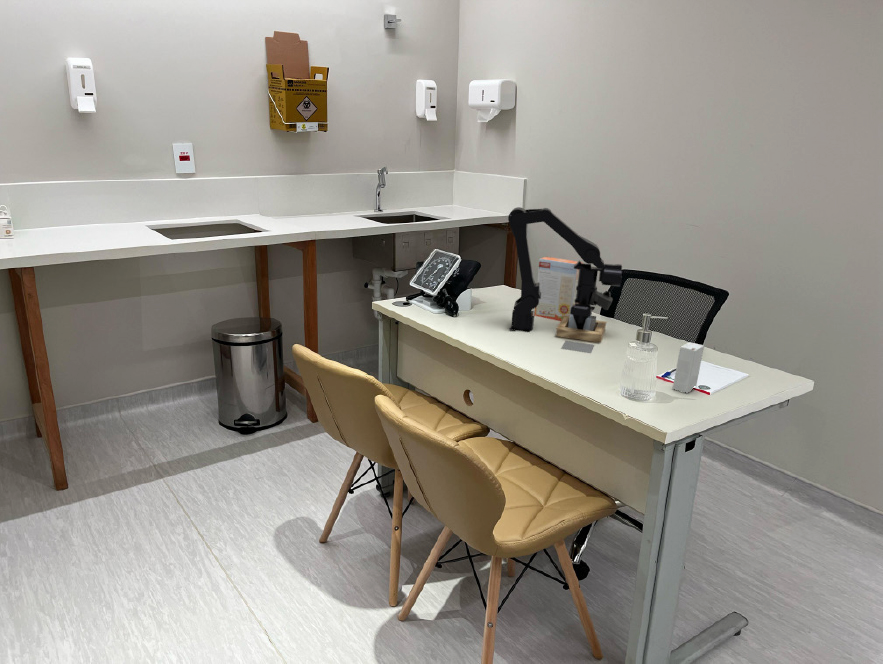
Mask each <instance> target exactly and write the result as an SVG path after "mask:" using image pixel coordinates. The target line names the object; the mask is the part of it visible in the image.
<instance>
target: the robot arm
mask: <svg viewBox="0 0 883 664" xmlns="http://www.w3.org/2000/svg"><path fill="white" fill-rule="evenodd" d="M507 218H508V219H507V220H508V223H509V228H510V231H511V232H512V235H513V236H514V237H513V238H514V240H515V246H516V252H517V259H518V265H519V272H520V273H519V274H520V279H521V288H520V290H521V291H520V297H519V298H518V299H516V300H515V301H514V305H513V310H512V311H511V312H512V313H511V326H510V327H509V330H510V331H515V332H516V331H518V332H524V333H530V332H531V331H532V330H533V329H534V324H535V316H534V310H535V308H536V307H537V305H538V304H539V299H541V292H540V283H537V282H535V279H534V274H533V267H532V262H531V261H532V260H531V254H530V248H529V239H528V225H529V224H537V223H544V224H545V225H547V226H548V227H549V228H550V229H552V231H554V232H555V233H556V234H557V235H559V236H560V237H561V238H562V239H563V240H565V242H567V243H568V244H569V245H570V246H571V247H572V248H573V249H574V250H575V252H576V253H577V254H578V256H579V258H580V259H582V261H581V260H577V261H578V263H576V264H575V265H574V269H579V277H578V285H577V287H576V290H577V294H576V299H575V304H574V305H573V306H572V307H571V311H570V314H572V315H573V317H574V320H575V323H576V326H577V329H581V330H583V328H584V325H585V322H586V319H587V318H588V317H590V316H593V314H592V313H593V311H594V310H595V309H596V307H595V306H599V307H601V308H602V309H603V310H605V311H608V310H609V308H610V306H611V305H612V303H613V300H614V299H613V297H611V291H608V290H605V291H604V292H602V291H601V292H600V291H598V287H597V280H598V282H600V283H601V285H602V286H609V287H610V286H611V287H612V286H613V287H621V284H622V280H623V277H622V273H623V272H622V271H623V270H622V269H623V265H622V264H621V263H620V264H619V263H617V264H613V263H611V264H610V263H605V262H604V259H603V258H602V257H601V251H600V248H599V246H598V244H596V243H595V242H593V241H591V240H589V239H587V238H585V237H583V236H582V235H579V233H577V232H576V231H575V230H573V228H571V227H570V226H569V225H568V224H567V223H565V222H564V221H563V220H562V219H561V218H559V216H557V215H556V214H555V213H554V212H553V211H552V210H551V209H550V208H548V207H543V208H532V209H531V208H530V209H529V208H528V209H526V208H523V207H519V206H518V207H514V208H512V210H511V211H510V212H509V214H508V217H507ZM581 262H583V263H581ZM592 265H593V266H592ZM598 272H599V273H598ZM597 278H598V279H597ZM578 303H579V304H578Z"/></svg>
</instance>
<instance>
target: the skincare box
mask: <svg viewBox="0 0 883 664" xmlns="http://www.w3.org/2000/svg"><path fill="white" fill-rule="evenodd" d="M704 348H705V345H703V344H698V343H694V342H687V343H685V344H683V345H682V346H680V347H679V352H678V358H677V363H676V368H675V373H674V380H673V385H672V390H674V389H675V390H674V391H676V390H679V391H682V392H681V393H683V392H686V393H685V394H689V393H690V392H692V391H693V390H694V389H693V387H694V386H696V387H697V385H698V379H699V375H700V371H701V369H700V368H701V363H702V359H703V358H702V357H703V353H704ZM692 389H693V390H692ZM691 390H692V391H691ZM679 391H678V392H679ZM688 392H689V393H688Z"/></svg>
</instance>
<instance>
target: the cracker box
mask: <svg viewBox="0 0 883 664" xmlns="http://www.w3.org/2000/svg"><path fill="white" fill-rule="evenodd" d="M578 261H579V260H577V261H576V260H571V259H565V258H560V257H559V258H558V257H551V256H544V257H541V258H539V263H538V269H537V270H538V273H537V282H536V283H540V292H541V299H539V304H538V305H537V307H536V308H534V311H533V316H534V317H540V318H543V319H548V320H554V321H558V322H561V320H562V319H563V317H564V316H570V315H571V314H570V311H571V307H572V306H573V305H574V304H575V299H576V294H577V290H576V287H577V285H578V277H579V269H574V265H575V264H576V263H578ZM581 263H584V261H581ZM578 304H579V303H578Z"/></svg>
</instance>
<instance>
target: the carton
mask: <svg viewBox="0 0 883 664" xmlns="http://www.w3.org/2000/svg"><path fill="white" fill-rule="evenodd" d="M568 325H569V316H564V317H563V319H562V320H561V321H559V323H558V324H557V326H556V328H555V329H556V334H555V337H559V338H560V337H562V338H568V339H573V340H581V341H587V342H593V343H594V342H595V343H600V344H601V343H602V340H603V338H604V336H605V331H606V326H607V321H604V320H597V319H596V324H595V331H588V330H581V329H574V328H568Z"/></svg>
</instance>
